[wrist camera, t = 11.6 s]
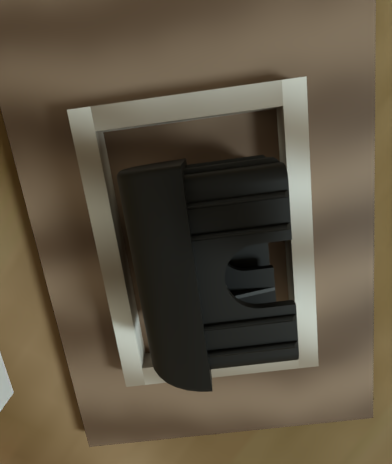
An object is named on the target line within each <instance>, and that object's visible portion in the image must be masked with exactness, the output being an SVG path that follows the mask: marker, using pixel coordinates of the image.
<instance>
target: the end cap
mask: <svg viewBox="0 0 392 464" xmlns="http://www.w3.org/2000/svg"><path fill="white" fill-rule="evenodd" d="M117 182H118V187H119V192H120V197H121V203H122V208H123V213H124V218H125V224H126V229H127V234H128V240H129V245H130V250H131V255H132V261H133V266H134V271H135V276H136V282H137V287H138V292H139V297H140V303H141V308H142V313H143V318H144V324H145V329H146V334H147V339H148V345H149V350H150V355H151V361H152V364H153V368H154V370H155V371H156V373H157V374H158V376H159V377H160V378H161V379H163V380H164V381H165V382H166V383H168V384H170V385H172V386H174V387H176V388H180V389H183V390H187V391H196V392H211V391H213V390H212V374H211V369H219V368H229V367H238V366H247V365H256V364H265V363H274V362H283V361H292V360H298V359H299V345H298V329H297V312H296V304H295V302H294V300H286V301H278V302H276V292H275V279H274V267H273V266H272V265H270V261H269V248H268V243H269V242H277V241H286V240H292V231H291V215H290V198H289V182H288V173H287V169H286V166H285V164H284V163H283V162H279V161H278V160H277V159H276V158H275V157H265V156H264V155H257V156H249V157H242V158H234V159H227V160H219V161H212V162H204V163H197V164H189V165H187V162H186V159H178V160H171V161H165V162H158V163H152V164H146V165H141V166H136V167H131V168H127V169H123V170H121V171H120V172H118V174H117Z"/></svg>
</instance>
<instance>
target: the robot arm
mask: <svg viewBox="0 0 392 464" xmlns="http://www.w3.org/2000/svg"><path fill="white" fill-rule="evenodd" d="M13 393H14V392H13V389H12V386H11V383H10V380H9V377H8V374H7V371H6V368H5V365H4V362H3V359H2V356H1V353H0V411H1V410H2V408H3V407H4V406H5V404H6V403H7V401H8V400H9V398H10V397H11V396H12V394H13Z"/></svg>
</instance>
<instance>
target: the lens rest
mask: <svg viewBox="0 0 392 464" xmlns="http://www.w3.org/2000/svg"><path fill="white" fill-rule="evenodd" d="M375 16H376V0H0V108H1V112H2V115H3V119H4V123H5V127H6V131H7V135H8V138H9V142H10V146H11V150H12V154H13V157H14V161H15V165H16V169H17V173H18V177H19V180H20V184H21V188H22V192H23V196H24V199H25V203H26V207H27V211H28V215H29V219H30V222H31V226H32V230H33V234H34V238H35V241H36V245H37V249H38V253H39V257H40V261H41V264H42V268H43V272H44V276H45V280H46V283H47V287H48V291H49V295H50V299H51V303H52V306H53V310H54V314H55V318H56V322H57V325H58V329H59V333H60V337H61V341H62V345H63V348H64V352H65V356H66V360H67V364H68V367H69V371H70V375H71V379H72V383H73V387H74V390H75V394H76V398H77V402H78V406H79V409H80V413H81V417H82V421H83V425H84V429H85V432H86V436H87V440H88V444H89V447H92V446H102V445H112V444H122V443H132V442H141V441H151V440H161V439H171V438H181V437H190V436H200V435H210V434H220V433H230V432H239V431H249V430H259V429H269V428H279V427H288V426H298V425H308V424H318V423H328V422H337V421H347V420H357V419H367V418H373V338H374V177H375ZM257 155H264V156H265V157H275V158H276V159H277V160H278V161H279V162H283V163H284V164H285V166H286V169H287V173H288V182H289V198H290V215H291V231H292V240H286V241H277V242H269V243H268V248H269V261H270V265H272V266H273V267H274V279H275V292H276V302H278V301H286V300H294V302H295V304H296V312H297V329H298V345H299V359H298V360H292V361H283V362H274V363H265V364H256V365H247V366H238V367H229V368H219V369H211V374H212V390H213V391H211V392H196V391H187V390H183V389H180V388H176V387H174V386H172V385H170V384H168V383H166V382H165V381H164V380H163V379H161V378H160V377H159V376H158V374H157V373H156V371H155V370H154V368H153V364H152V361H151V355H150V350H149V345H148V339H147V334H146V329H145V324H144V318H143V313H142V308H141V303H140V297H139V292H138V287H137V282H136V276H135V271H134V266H133V261H132V255H131V250H130V245H129V240H128V234H127V229H126V224H125V218H124V213H123V208H122V203H121V197H120V192H119V187H118V182H117V174H118V172H120V171H121V170H123V169H127V168H131V167H136V166H141V165H146V164H152V163H158V162H165V161H171V160H178V159H186V162H187V165H189V164H197V163H204V162H212V161H219V160H227V159H234V158H242V157H249V156H257Z"/></svg>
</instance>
